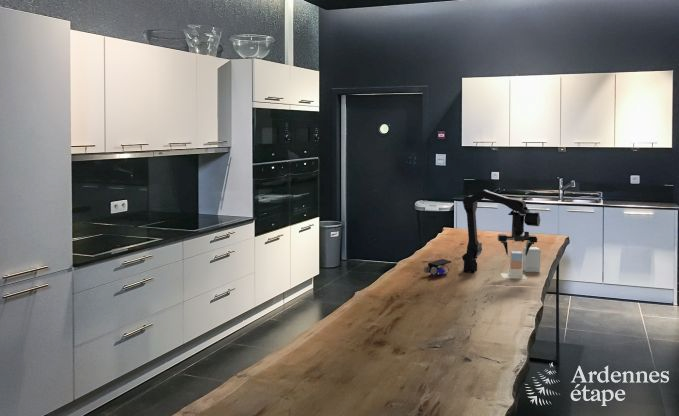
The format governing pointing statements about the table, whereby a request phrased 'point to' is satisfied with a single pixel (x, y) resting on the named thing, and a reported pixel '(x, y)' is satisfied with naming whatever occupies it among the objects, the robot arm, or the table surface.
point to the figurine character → (434, 268)
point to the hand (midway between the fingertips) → (516, 255)
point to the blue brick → (516, 256)
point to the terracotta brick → (515, 264)
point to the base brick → (515, 272)
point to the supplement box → (531, 260)
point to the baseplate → (512, 277)
